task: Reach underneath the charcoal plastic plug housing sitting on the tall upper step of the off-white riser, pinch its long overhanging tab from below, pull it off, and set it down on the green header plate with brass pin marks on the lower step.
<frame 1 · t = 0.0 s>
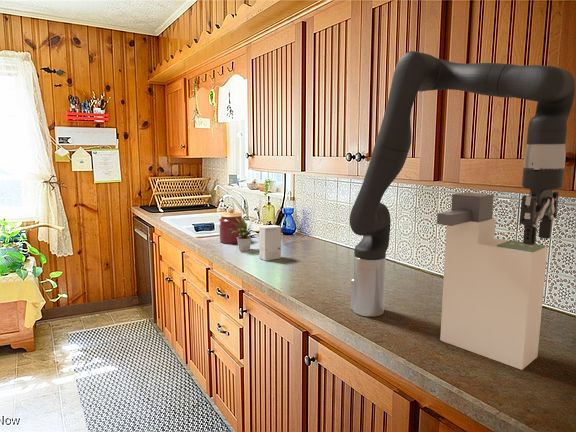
hand: (536, 241, 94), 29 cm above the worktop, tool pointing down, fingers open, 8 cm apart
house plant: (242, 250, 211), on the worktop
riser: (486, 348, 108), on the worktop
skincare box: (270, 258, 195), on the worktop
canister: (232, 241, 230), on the worktop
plug housing: (471, 218, 107), point 32 cm above the worktop, touching riser
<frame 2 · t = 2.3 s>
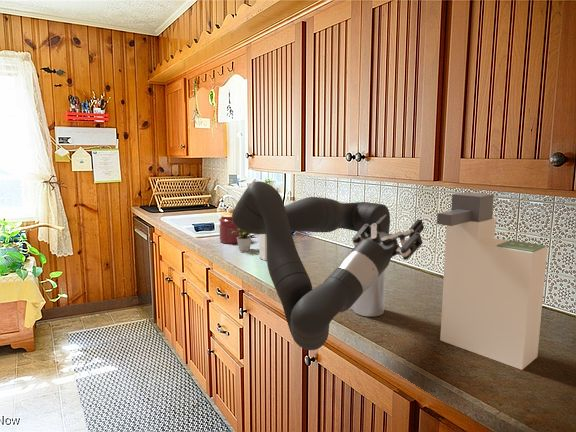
hand: (403, 220, 95), 34 cm above the worktop, tool pointing upward, fingers open, 8 cm apart
nothing on the worktop moved.
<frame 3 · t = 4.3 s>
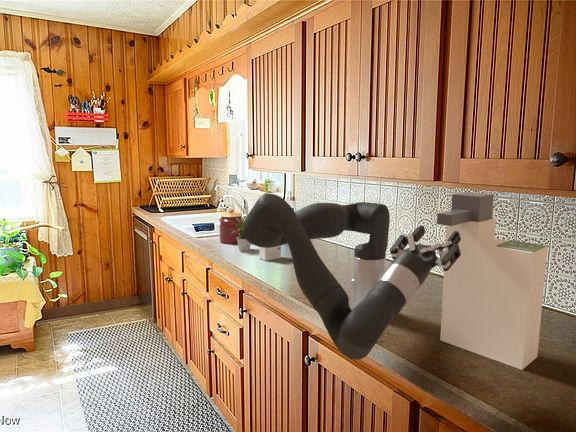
hand: (439, 231, 98), 31 cm above the worktop, tool pointing upward, fingers open, 8 cm apart
nothing on the worktop moved.
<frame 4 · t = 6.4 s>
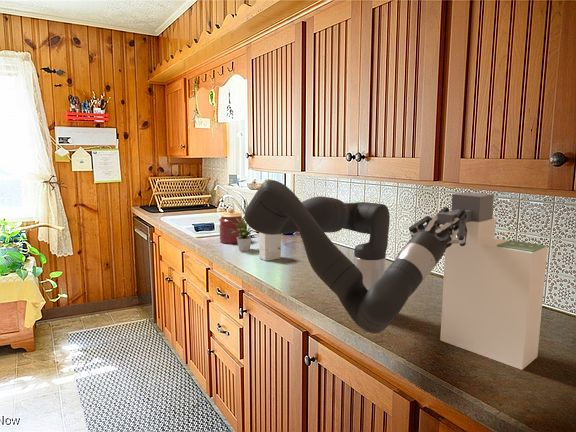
hand: (455, 211, 102), 35 cm above the worktop, tool pointing upward, fingers closed on plug housing, 3 cm apart
plug housing: (471, 218, 107), point 32 cm above the worktop, touching gripper, riser
everything else where it was.
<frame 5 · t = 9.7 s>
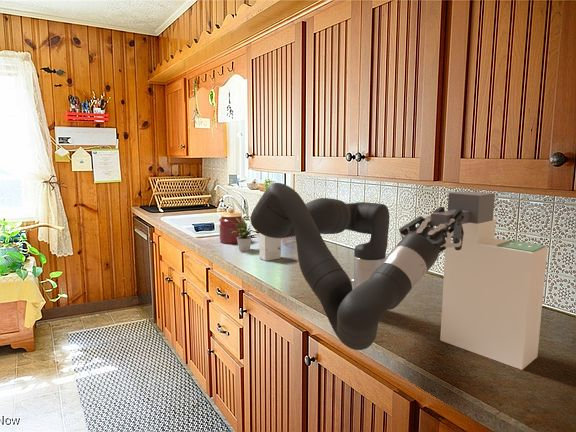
hand: (451, 211, 91), 36 cm above the worktop, tool pointing upward, fingers closed on plug housing, 3 cm apart
plug housing: (469, 220, 97), point 33 cm above the worktop, touching gripper
everything else where it was.
when the fingers open (31 cm above the worktop, at t = 13.2 s): plug housing stays where it is, resting on riser.
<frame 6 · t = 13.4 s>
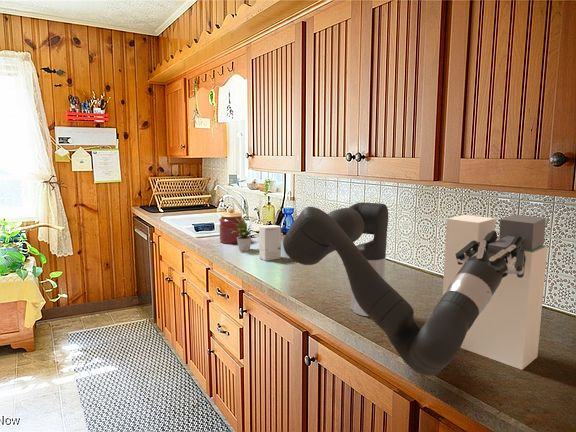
hand: (506, 236, 93), 31 cm above the worktop, tool pointing upward, fingers open, 4 cm apart
plug housing: (521, 244, 99), point 28 cm above the worktop, touching riser
everything else where it was.
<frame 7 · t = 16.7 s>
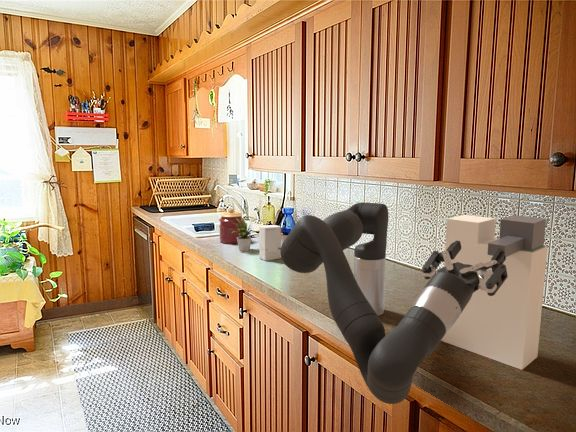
hand: (479, 247, 85), 30 cm above the worktop, tool pointing upward, fingers open, 8 cm apart
nothing on the worktop moved.
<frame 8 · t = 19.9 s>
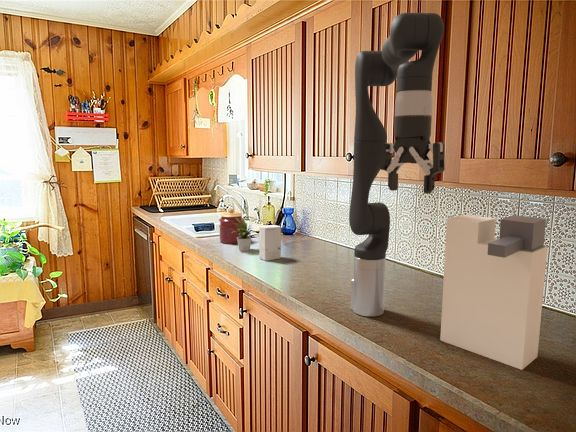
hand: (409, 191, 94), 40 cm above the worktop, tool pointing down, fingers open, 8 cm apart
nothing on the worktop moved.
at the end: plug housing 0.0 cm from the target spot, point 27.4 cm above the worktop; plug housing tilted 2°; the gripper is holding nothing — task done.
